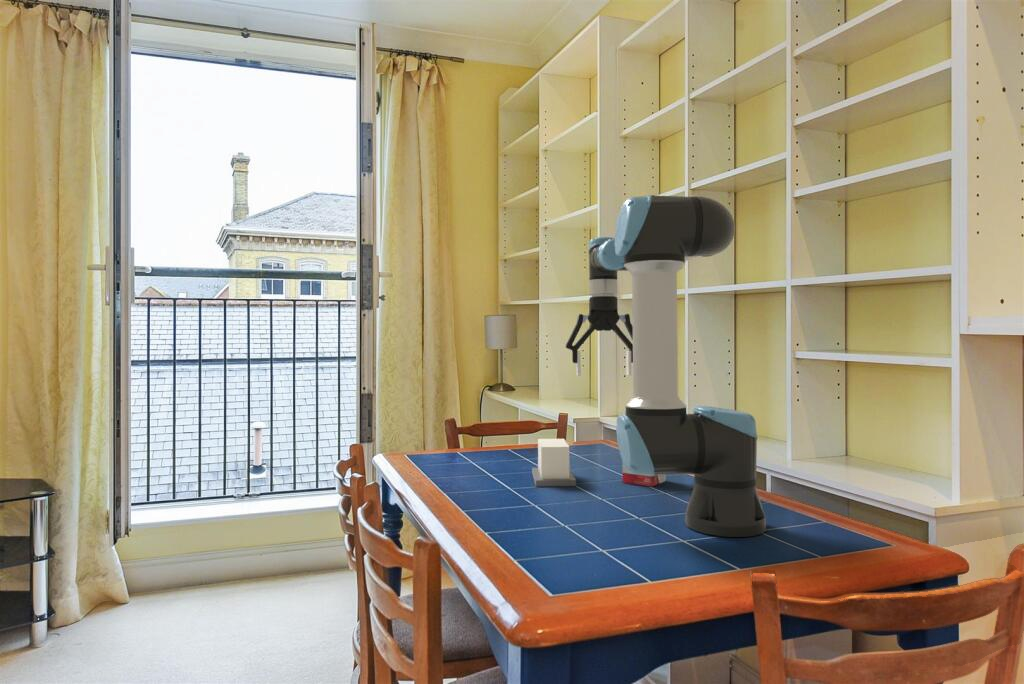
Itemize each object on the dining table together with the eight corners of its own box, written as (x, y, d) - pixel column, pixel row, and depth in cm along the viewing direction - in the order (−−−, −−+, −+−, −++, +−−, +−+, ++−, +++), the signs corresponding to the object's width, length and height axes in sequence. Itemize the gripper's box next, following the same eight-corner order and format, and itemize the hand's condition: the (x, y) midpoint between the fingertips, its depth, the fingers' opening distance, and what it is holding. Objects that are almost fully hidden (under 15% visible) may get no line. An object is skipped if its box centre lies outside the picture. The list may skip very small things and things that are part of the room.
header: (576, 486, 169) (575, 461, 169) (535, 486, 169) (535, 462, 168) (568, 472, 185) (568, 450, 185) (532, 473, 185) (532, 451, 184)
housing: (569, 478, 170) (569, 446, 170) (541, 479, 170) (541, 447, 170) (564, 468, 183) (563, 438, 183) (538, 468, 183) (538, 438, 183)
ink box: (652, 487, 167) (652, 439, 167) (621, 482, 172) (621, 436, 172) (667, 481, 174) (667, 434, 174) (636, 476, 179) (636, 432, 179)
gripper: (646, 296, 186) (646, 374, 187) (555, 297, 185) (555, 374, 186) (652, 295, 179) (653, 375, 179) (558, 295, 178) (558, 376, 178)
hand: (603, 375), depth 182 cm, fingers open, 13 cm apart
